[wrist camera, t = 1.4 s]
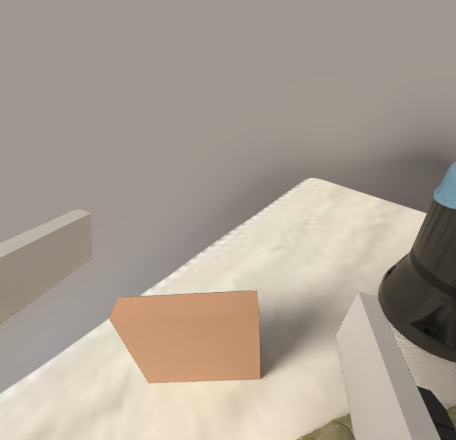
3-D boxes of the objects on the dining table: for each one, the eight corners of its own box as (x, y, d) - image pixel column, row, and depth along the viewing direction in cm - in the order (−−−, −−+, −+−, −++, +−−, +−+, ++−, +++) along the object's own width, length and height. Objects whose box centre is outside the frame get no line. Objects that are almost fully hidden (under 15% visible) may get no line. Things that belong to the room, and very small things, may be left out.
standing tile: (258, 356, 34) (256, 288, 26) (260, 379, 32) (259, 312, 24) (153, 361, 35) (119, 295, 27) (148, 383, 33) (109, 319, 25)
